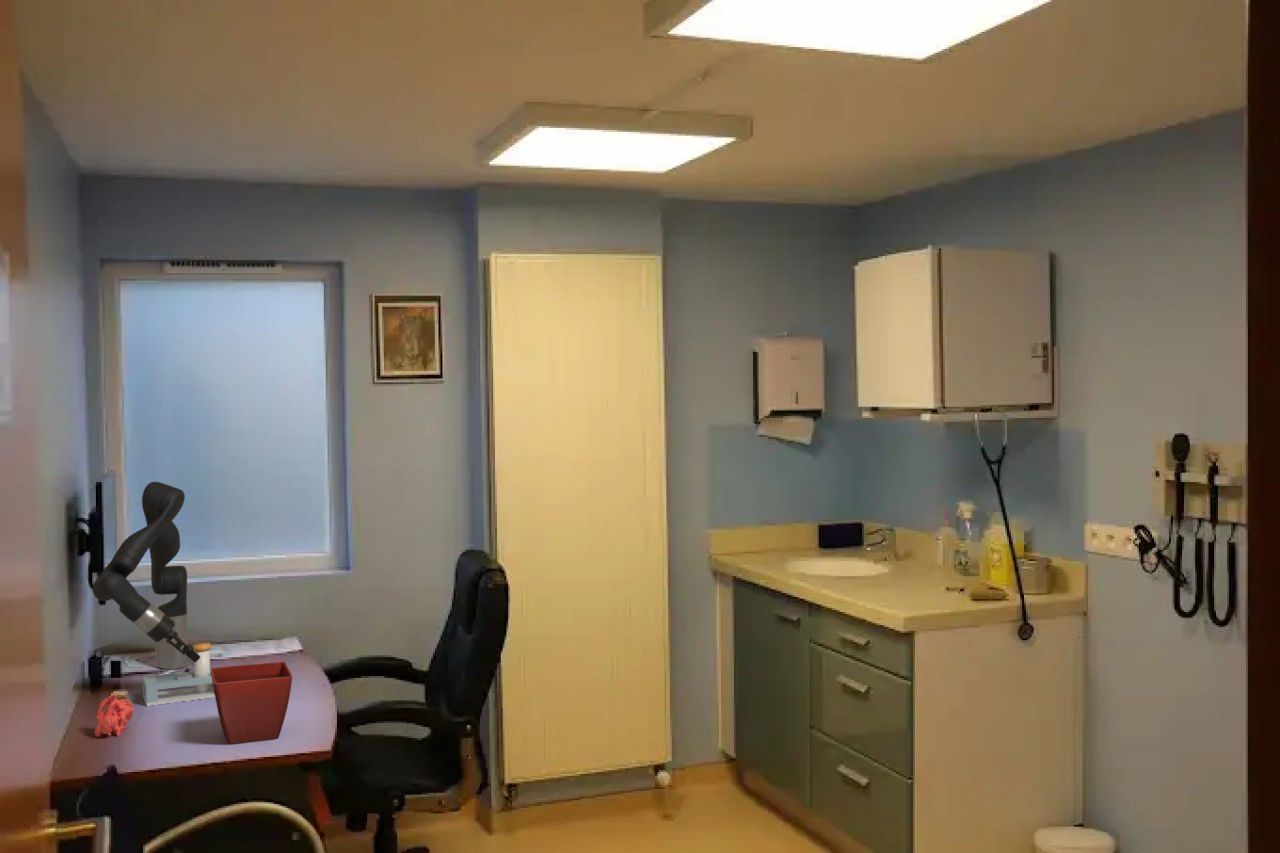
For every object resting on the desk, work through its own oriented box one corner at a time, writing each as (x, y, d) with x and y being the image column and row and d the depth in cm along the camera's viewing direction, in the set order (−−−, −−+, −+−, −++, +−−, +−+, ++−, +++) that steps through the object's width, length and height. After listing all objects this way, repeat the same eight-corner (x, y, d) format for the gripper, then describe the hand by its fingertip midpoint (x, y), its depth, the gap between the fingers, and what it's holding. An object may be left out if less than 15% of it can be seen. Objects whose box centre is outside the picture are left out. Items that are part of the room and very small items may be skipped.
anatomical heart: (129, 732, 312) (140, 689, 312) (122, 745, 300) (134, 701, 301) (94, 726, 310) (106, 683, 310) (86, 739, 298) (98, 695, 298)
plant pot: (286, 721, 315) (285, 660, 314) (294, 740, 297) (292, 675, 297) (211, 730, 308) (210, 667, 307) (215, 750, 290) (213, 683, 289)
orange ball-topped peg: (189, 692, 343) (189, 645, 342) (199, 688, 348) (199, 642, 347) (204, 693, 342) (204, 646, 341) (214, 689, 346) (214, 643, 346)
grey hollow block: (146, 706, 332) (146, 685, 332) (143, 696, 342) (142, 676, 342) (227, 696, 342) (226, 676, 342) (221, 687, 353) (220, 668, 353)
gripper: (165, 616, 333) (208, 651, 338) (160, 608, 345) (202, 642, 351) (146, 637, 330) (189, 671, 336) (141, 628, 343) (183, 662, 349)
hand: (196, 656), depth 343 cm, fingers open, 8 cm apart
